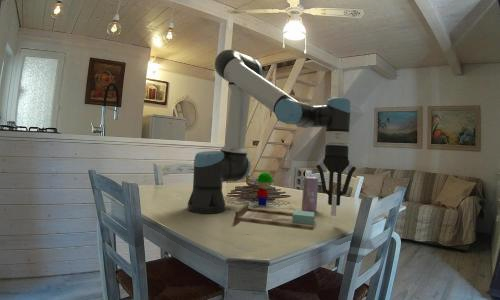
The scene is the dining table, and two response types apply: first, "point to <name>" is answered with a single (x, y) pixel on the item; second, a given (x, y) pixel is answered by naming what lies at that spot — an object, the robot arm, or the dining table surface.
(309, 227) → the brown flat frame
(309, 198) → the beverage can
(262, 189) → the toy
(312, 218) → the block
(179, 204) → the dining table surface
